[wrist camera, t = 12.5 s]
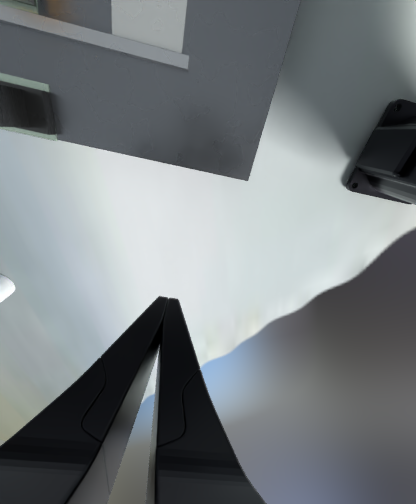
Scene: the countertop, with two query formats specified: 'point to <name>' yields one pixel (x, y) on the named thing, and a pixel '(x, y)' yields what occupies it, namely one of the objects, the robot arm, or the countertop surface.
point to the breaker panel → (146, 76)
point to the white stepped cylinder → (5, 287)
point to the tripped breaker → (27, 1)
